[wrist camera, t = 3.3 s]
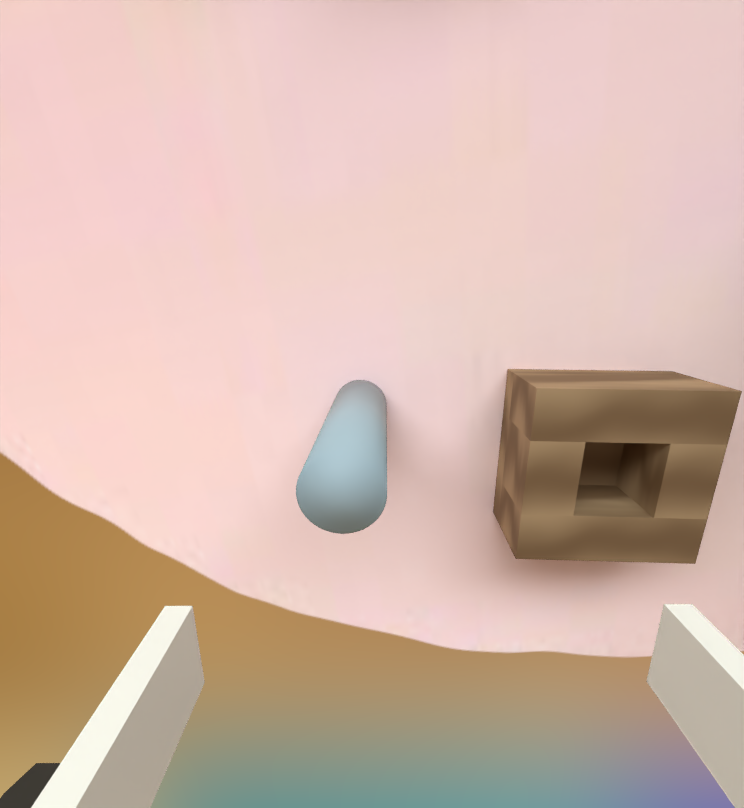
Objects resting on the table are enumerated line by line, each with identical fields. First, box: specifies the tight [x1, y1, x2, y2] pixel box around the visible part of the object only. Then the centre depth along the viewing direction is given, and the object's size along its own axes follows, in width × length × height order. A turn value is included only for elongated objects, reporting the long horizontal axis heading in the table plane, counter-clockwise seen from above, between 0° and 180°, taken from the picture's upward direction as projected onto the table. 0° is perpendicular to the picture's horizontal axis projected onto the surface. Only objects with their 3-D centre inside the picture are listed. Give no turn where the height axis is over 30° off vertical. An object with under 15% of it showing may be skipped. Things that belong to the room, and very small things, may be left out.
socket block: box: [493, 369, 742, 564], centre depth 28 cm, size 12×12×6 cm
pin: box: [296, 380, 387, 534], centre depth 24 cm, size 4×4×14 cm
